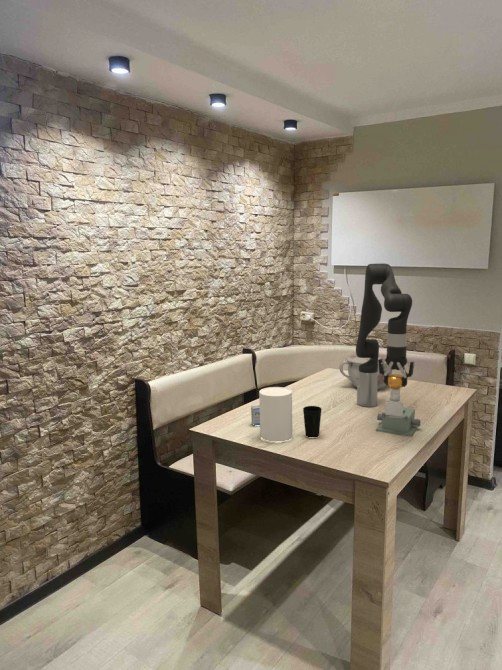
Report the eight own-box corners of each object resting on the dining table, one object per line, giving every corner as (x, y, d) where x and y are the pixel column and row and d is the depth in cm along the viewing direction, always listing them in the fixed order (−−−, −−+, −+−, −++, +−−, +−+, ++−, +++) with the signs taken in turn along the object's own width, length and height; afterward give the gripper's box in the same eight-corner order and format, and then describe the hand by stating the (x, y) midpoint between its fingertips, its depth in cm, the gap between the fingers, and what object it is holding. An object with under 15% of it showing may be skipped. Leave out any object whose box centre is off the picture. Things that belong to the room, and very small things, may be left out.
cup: (309, 431, 215) (309, 404, 213) (324, 435, 210) (324, 407, 208) (299, 436, 209) (299, 409, 207) (315, 440, 205) (315, 412, 202)
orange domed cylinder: (385, 401, 198) (385, 377, 197) (389, 397, 204) (389, 373, 202) (401, 403, 195) (401, 378, 194) (404, 399, 201) (405, 375, 199)
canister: (286, 445, 200) (286, 397, 197) (255, 441, 205) (254, 394, 202) (296, 433, 213) (296, 388, 209) (266, 430, 218) (265, 385, 214)
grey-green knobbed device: (372, 430, 214) (372, 412, 213) (382, 417, 230) (383, 401, 229) (415, 437, 206) (416, 418, 205) (423, 423, 221) (424, 406, 220)
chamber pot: (400, 384, 286) (401, 348, 283) (387, 396, 263) (388, 358, 260) (353, 378, 301) (353, 345, 297) (337, 390, 277) (337, 353, 274)
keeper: (385, 417, 211) (385, 401, 208) (386, 415, 212) (385, 400, 209) (402, 419, 208) (402, 404, 205) (403, 418, 209) (402, 402, 206)
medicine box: (253, 427, 222) (253, 408, 220) (251, 424, 226) (250, 405, 224) (270, 425, 224) (270, 406, 222) (267, 422, 228) (267, 403, 227)
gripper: (376, 344, 196) (375, 385, 199) (413, 347, 189) (412, 390, 192) (380, 341, 202) (379, 381, 205) (417, 344, 195) (415, 385, 198)
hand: (395, 385), depth 198 cm, fingers closed on orange domed cylinder, 6 cm apart
